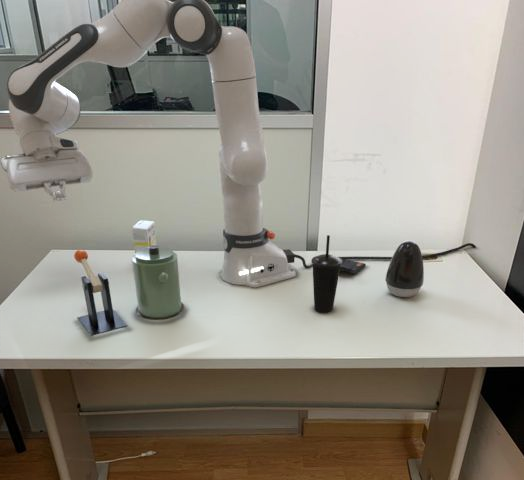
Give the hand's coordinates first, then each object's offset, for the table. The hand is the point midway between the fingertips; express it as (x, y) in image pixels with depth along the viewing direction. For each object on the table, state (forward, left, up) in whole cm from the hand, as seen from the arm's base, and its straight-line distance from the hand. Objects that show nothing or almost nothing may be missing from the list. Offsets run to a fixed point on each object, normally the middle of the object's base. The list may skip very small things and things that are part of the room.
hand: (60, 199), depth 133 cm
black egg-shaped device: (-83, +33, -27) cm, 94 cm away
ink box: (-23, -20, -27) cm, 41 cm away
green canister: (-18, +18, -27) cm, 37 cm away
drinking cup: (-58, +33, -27) cm, 72 cm away
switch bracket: (-3, +20, -27) cm, 33 cm away
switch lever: (-2, +15, -15) cm, 21 cm away
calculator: (-77, +12, -25) cm, 82 cm away
